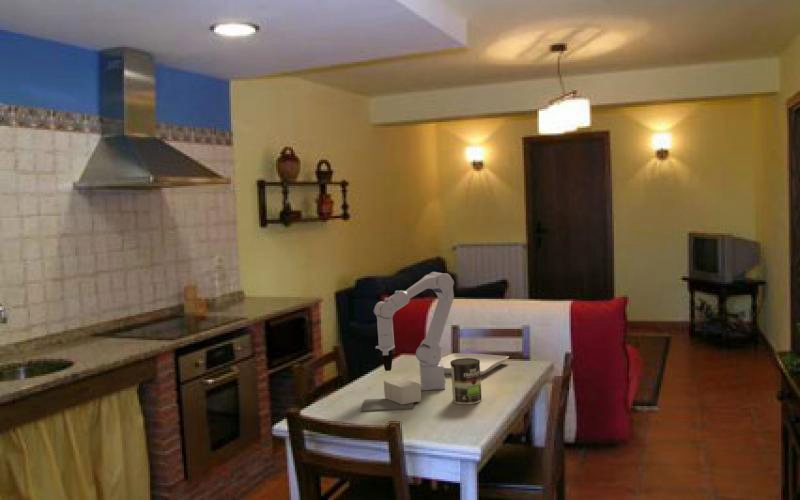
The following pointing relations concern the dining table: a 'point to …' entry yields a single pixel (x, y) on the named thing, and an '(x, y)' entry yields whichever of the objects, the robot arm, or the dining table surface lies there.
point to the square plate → (485, 360)
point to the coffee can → (466, 381)
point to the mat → (383, 405)
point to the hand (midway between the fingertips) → (388, 370)
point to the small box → (402, 391)
